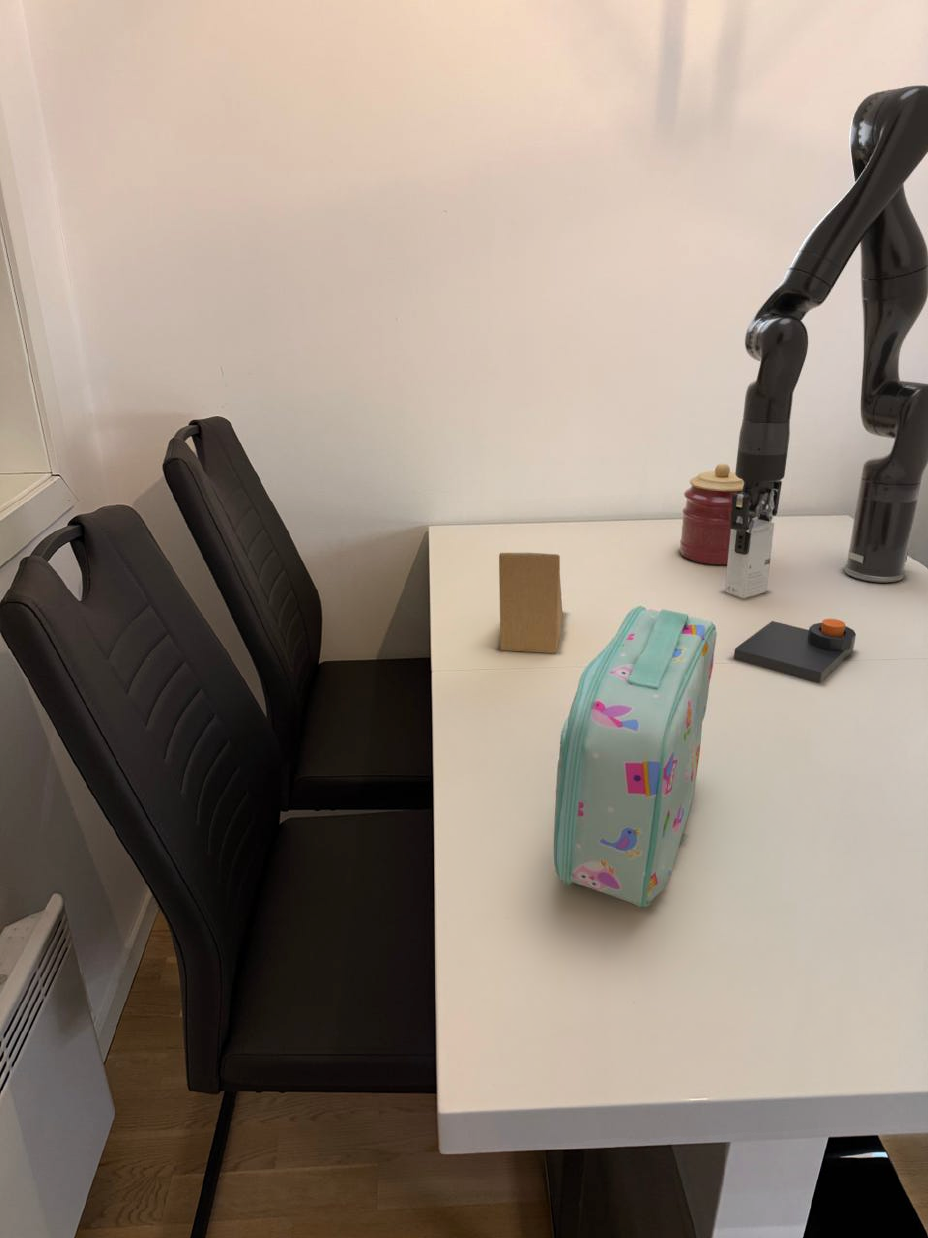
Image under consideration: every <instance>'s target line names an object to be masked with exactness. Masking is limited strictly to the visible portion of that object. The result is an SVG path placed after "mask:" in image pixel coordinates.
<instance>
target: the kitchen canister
mask: <svg viewBox="0 0 928 1238" xmlns="http://www.w3.org/2000/svg"><path fill="white" fill-rule="evenodd" d="M689 484H690V485H691V486H690V488H688V489H686V490H685V491H684V492H683V496H684V498H686V502H685V506H684V507H683V509H682V523H681V525H682V526H681V535H680V536H681V537H680V540H679V549H680V554H681V555H682V557H684V558H686V559H688V560H690V561H693V562H696V563H701V564H706V565H707V564H708V565H727V564H728V554H729V543H730V533H731V529H730V521H731V509H732V497H733V494H734V493H738V494H741V491H742V489H743V485H744V481H743V480H742V479H740V478H738V477H737V476H736V474H735V472H733V471H731V469H730V466H729V465H728V464H727V463H724V462H723V463H722V462H721V463H719V464H717V465H716V466H715V469H714V470H712V471H711V470H710V471H709V470H708V471H704V472H700V473H698V474H697V475H696V476H694V477H692V478H691V479H690V480H689ZM749 513H753V512H749ZM737 518H738V516H737ZM748 520H749V519H748ZM736 521H737V520H736Z"/></svg>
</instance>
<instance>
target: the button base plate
mask: <svg viewBox="0 0 928 1238" xmlns="http://www.w3.org/2000/svg"><path fill="white" fill-rule="evenodd" d="M821 626H822V622H816V623H813V624H812V625H810V626H809V627H808V629H807V628H803V627H800V626H799V627H798V626H795V625H791V624H786V623H782V622H778V621H774V620H771V621H770V622H768V624H766V625H764V626H763V627H762V628H760V629H759V630H758V631H756V632H755V633H754V634H753V635H751V636H750V637H749V638H747V639H746V640H745V641H743V642H742V643H740V644H738V646H737V647H736V648H734V654H733V660H735V661H739V662H742V663H746V664H750V665H753V666H757V667H759V668H764V669H767V670H770V671H774V672H778V673H781V674H784V675H788V676H791V677H794V678H798V679H803V680H806V681H810V682H812V683H816V684H821V683H822V682H823V681H825V679H826V678H827V677H829V675H830V674H831V673H832V672H833V671H835V669H836V668H838V667H839V666H840V665H841V664H842V663H843V662H844V661H845V660H846V659H847V658H848V657H849V656H850V655H851V654H853V652H854V648H855V641H856V636H857V633H856V632H855V630H854V629H852V628H850V627H849V626H847V625H845V630H844V635H842V636H831V635H827V634H824V633H822V632H821Z"/></svg>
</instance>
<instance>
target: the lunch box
mask: <svg viewBox="0 0 928 1238" xmlns="http://www.w3.org/2000/svg"><path fill="white" fill-rule="evenodd" d="M717 636H718V633H717V627H716V625H715V623H713V621H711V620H707V619H703V618H699V617H693V616H689V614H687V613H684V612H678V611H673V610H668V609H664V608H662V609H661V611H660V610H655V609H647V608H646V607H645V606H642V605H638V606H636V607H634V608H632V609H631V610H630V611H629V612H628V613H627V614H626V616H625V618H624V619H623V621H622V622H621V624H620V626H619V628H618V630H617V632H616V633H615V635H614V637H613V638H612V639H611V641H610V642H609V643H608V644H607V645H606V646H605V647H604V648H603V649H602V651H600V652H599V653H598V654H597V655H596V656H595V657H594V658H593V659H592V660H591V661H590V662H589V663H588V664H587V666H586V667H585V668H584V670H583V671H582V673H581V674H580V677H579V681H578V684H577V688H576V689H577V690H576V692H575V694H574V698H573V701H572V703H571V706H570V710H569V714H568V716H567V718H566V720H565V722H564V723H563V727H562V729H561V733H560V741H559V756H558V761H557V768H556V785H555V806H554V828H553V863H554V869H555V873H556V875H557V877H558V878H559V879H560V880H561V881H562V882H563V884H565V885H571V884H573V883H575V884H577V885H579V886H583V887H587V888H589V889H592V890H595V891H597V892H599V893H602V894H606V895H609V896H611V897H614V898H617V899H620V900H621V901H624V902H628V903H630V904H633V905H635V906H636V907H638V908H641V907H642V908H646V907H648V906H650V905H651V903H652V901H653V900H654V899H655V898H656V897H657V896H658V894H660V893H661V892H663V889H664V888H665V887H666V885H667V883H668V881H669V879H670V876H671V874H672V871H673V869H674V866H675V862H676V860H677V859H676V858H677V855H678V852H679V848H680V844H681V840H682V837H683V834H684V831H685V828H686V824H687V821H688V818H689V815H690V811H691V807H692V804H693V800H694V794H695V789H696V782H697V774H698V768H699V762H700V761H699V760H700V753H701V743H702V729H703V722H704V718H705V716H706V710H707V704H708V699H709V692H710V691H709V690H710V682H711V678H712V673H713V668H714V659H715V658H714V657H715V649H716V643H717Z"/></svg>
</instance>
